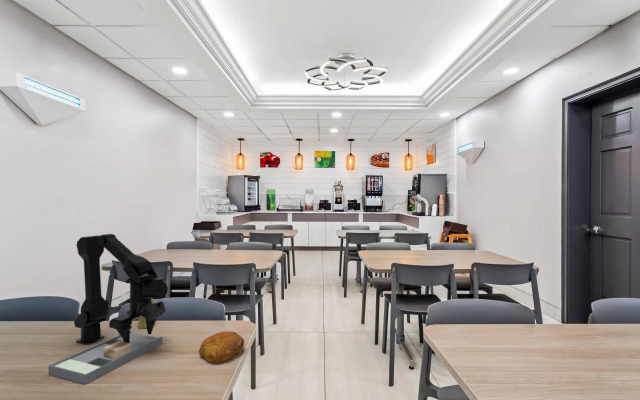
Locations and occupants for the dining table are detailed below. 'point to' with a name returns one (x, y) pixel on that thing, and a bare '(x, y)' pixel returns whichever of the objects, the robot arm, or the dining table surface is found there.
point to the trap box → (100, 359)
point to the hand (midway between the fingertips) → (138, 339)
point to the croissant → (221, 346)
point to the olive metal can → (143, 320)
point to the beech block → (117, 350)
